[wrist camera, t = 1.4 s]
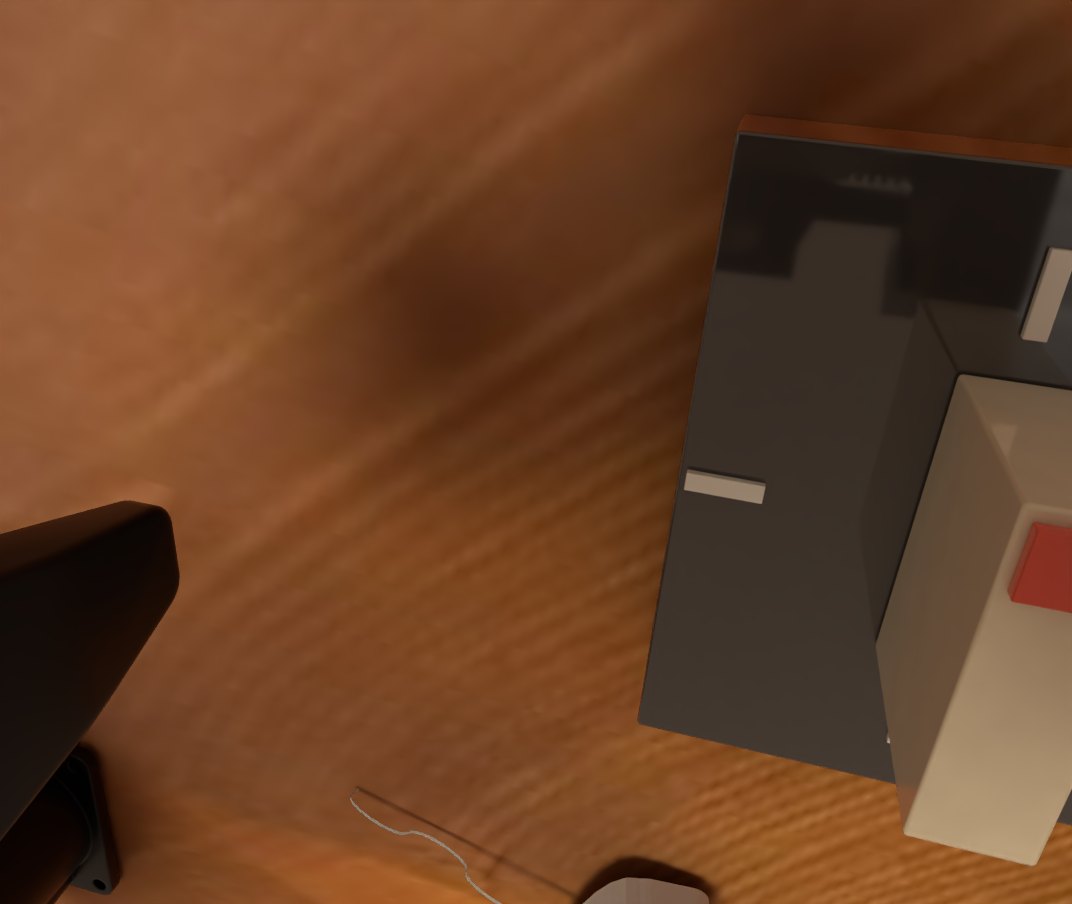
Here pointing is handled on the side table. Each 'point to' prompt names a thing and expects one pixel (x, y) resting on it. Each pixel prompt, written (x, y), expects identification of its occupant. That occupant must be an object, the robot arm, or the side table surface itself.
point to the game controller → (619, 900)
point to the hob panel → (839, 413)
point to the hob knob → (986, 627)
